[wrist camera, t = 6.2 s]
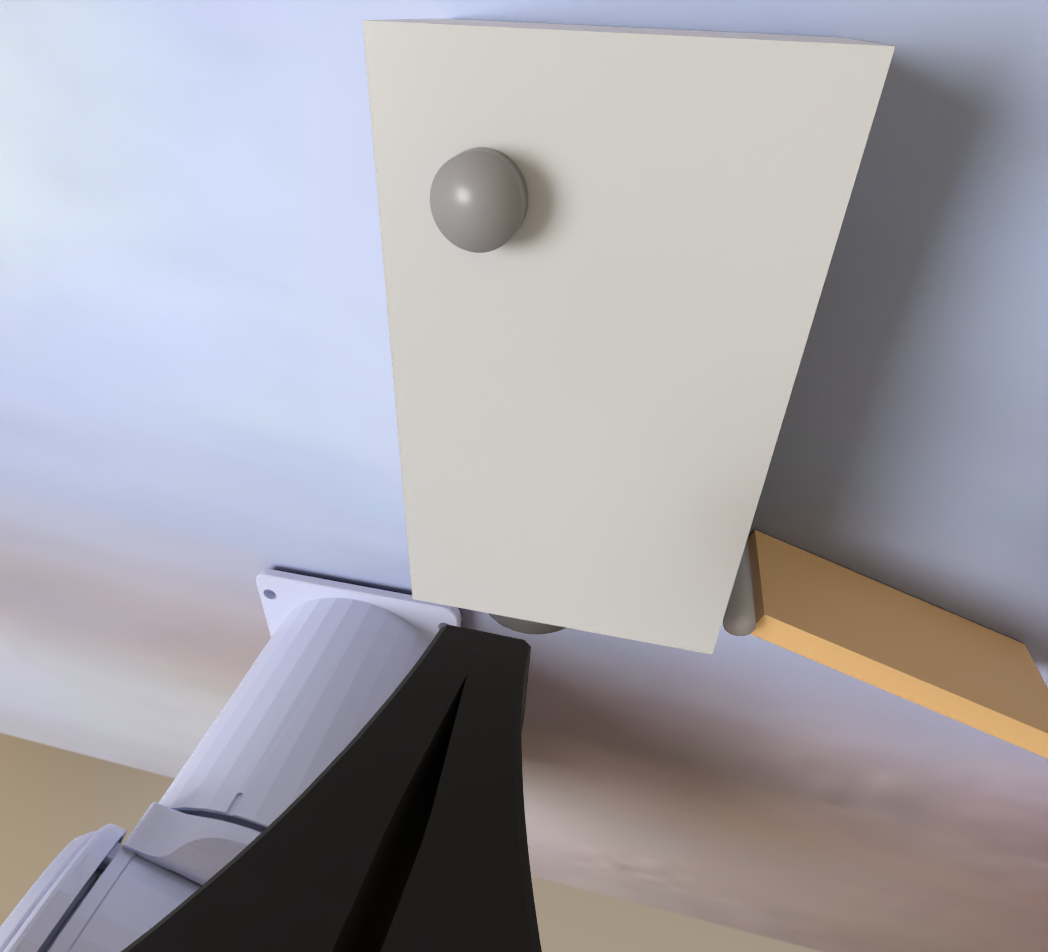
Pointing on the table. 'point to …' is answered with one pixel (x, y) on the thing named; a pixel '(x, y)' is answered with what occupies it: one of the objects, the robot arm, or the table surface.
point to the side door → (889, 640)
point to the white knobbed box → (602, 301)
